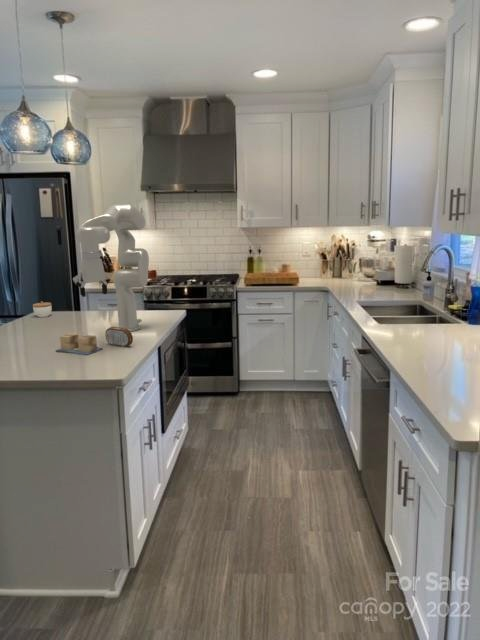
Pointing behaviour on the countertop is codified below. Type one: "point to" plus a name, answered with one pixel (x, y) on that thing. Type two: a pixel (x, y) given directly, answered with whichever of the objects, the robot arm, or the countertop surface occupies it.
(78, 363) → the countertop surface
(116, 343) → the tin
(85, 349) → the bridge base
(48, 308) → the lidded jar
